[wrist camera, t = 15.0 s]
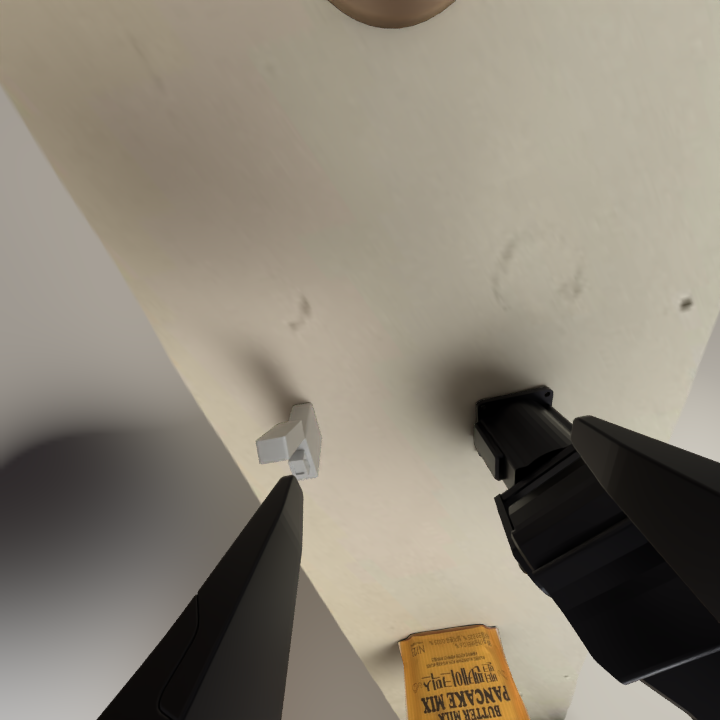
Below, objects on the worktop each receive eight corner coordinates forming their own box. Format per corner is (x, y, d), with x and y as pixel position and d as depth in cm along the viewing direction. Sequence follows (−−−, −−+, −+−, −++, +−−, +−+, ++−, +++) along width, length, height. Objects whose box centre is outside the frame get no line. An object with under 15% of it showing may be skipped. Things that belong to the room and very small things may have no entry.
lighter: (322, 438, 25) (313, 524, 18) (303, 441, 25) (287, 528, 18) (302, 372, 22) (282, 443, 15) (281, 376, 22) (251, 449, 15)
